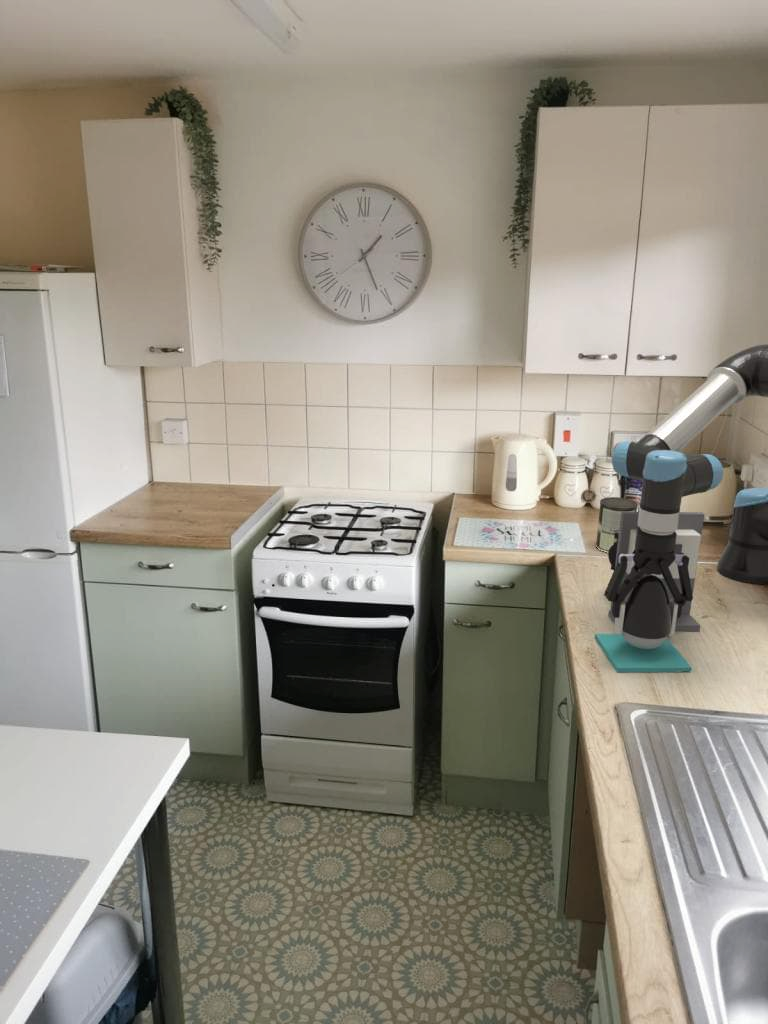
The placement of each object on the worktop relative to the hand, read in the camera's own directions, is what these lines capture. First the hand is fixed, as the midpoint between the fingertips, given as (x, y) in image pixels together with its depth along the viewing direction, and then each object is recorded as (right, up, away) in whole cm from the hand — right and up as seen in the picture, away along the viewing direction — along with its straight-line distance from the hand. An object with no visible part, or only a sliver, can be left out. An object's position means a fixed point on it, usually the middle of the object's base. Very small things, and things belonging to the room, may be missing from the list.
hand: (643, 631), depth 157 cm
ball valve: (+10, +4, +33) cm, 34 cm away
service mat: (0, -5, +2) cm, 5 cm away
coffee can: (+13, +14, +63) cm, 66 cm away
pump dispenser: (0, -3, +1) cm, 3 cm away
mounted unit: (+7, -1, +16) cm, 18 cm away
